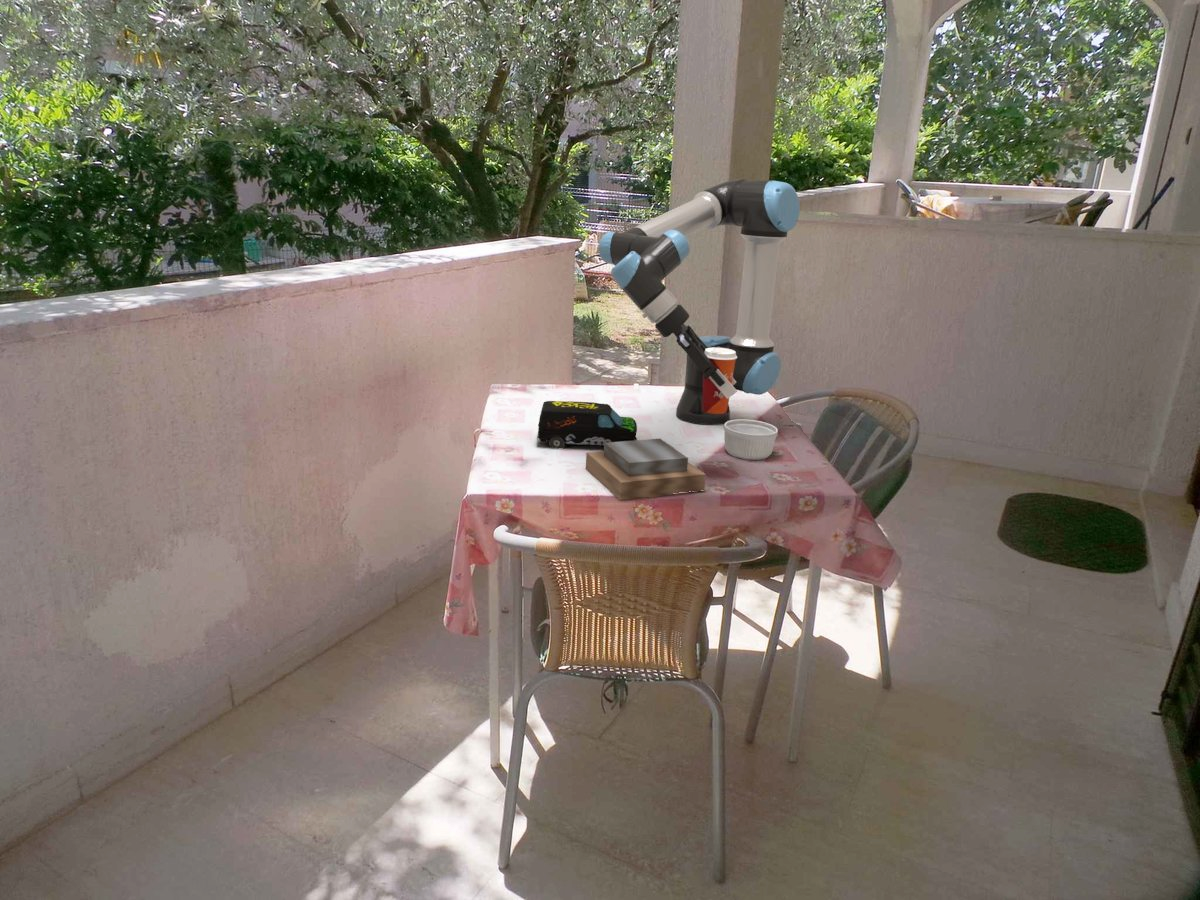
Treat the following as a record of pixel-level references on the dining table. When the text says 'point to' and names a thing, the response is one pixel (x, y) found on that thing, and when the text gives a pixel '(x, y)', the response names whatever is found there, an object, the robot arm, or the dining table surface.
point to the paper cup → (711, 394)
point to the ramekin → (749, 438)
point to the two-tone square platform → (643, 469)
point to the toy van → (583, 424)
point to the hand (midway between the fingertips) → (731, 390)
